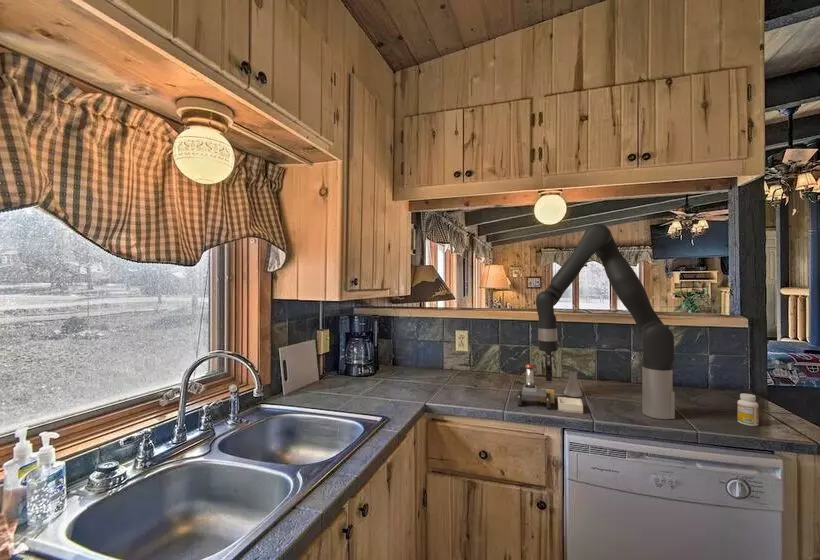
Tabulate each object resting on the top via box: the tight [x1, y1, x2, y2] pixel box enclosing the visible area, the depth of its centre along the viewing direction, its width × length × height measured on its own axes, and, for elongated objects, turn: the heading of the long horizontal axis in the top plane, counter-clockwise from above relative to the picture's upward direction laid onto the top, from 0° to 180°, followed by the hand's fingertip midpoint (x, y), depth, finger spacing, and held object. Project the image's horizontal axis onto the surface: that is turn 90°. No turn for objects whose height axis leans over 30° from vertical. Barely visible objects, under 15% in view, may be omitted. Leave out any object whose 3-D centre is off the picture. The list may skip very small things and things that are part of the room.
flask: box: [563, 370, 584, 398], centre depth 162 cm, size 7×7×10 cm
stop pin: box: [524, 363, 536, 388], centre depth 149 cm, size 4×4×10 cm
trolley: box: [517, 383, 552, 410], centre depth 149 cm, size 12×8×7 cm, turn 71°
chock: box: [540, 388, 555, 405], centre depth 154 cm, size 5×4×4 cm
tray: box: [557, 396, 584, 414], centre depth 144 cm, size 8×8×3 cm
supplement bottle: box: [736, 393, 760, 427], centre depth 130 cm, size 5×5×10 cm
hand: (548, 380), depth 157 cm, fingers closed
